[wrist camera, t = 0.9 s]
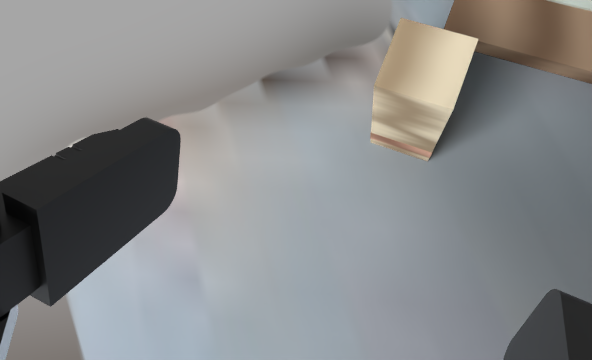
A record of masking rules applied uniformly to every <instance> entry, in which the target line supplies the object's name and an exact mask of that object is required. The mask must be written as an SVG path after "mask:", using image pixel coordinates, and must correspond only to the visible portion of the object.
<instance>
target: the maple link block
mask: <svg viewBox="0 0 592 360" xmlns="http://www.w3.org/2000/svg"><path fill="white" fill-rule="evenodd" d="M477 42H478V39H477V38H474V37H470V36H466V35H463V34H459V33H455V32H451V31H448V30H444V29H440V28H437V27H433V26H429V25H425V24H422V23H418V22H414V21H411V20H407V19H403V18H401V19H400V21H399V24H398V26H397V29H396V31H395V34H394V37H393V39H392V42H391V44H390V47H389V49H388V52H387V54H386V57H385V59H384V62H383V64H382V67H381V70H380V72H379V75H378V77H377V80H376V82H375V85H374V96H373V112H372V128H371V136H370V138H371V143H374V144H377V145H380V146H383V147H386V148H389V149H392V150H395V151H398V152H401V153H404V154H407V155H410V156H413V157H416V158H419V159H422V160H425V161H428V159H429V158H430V156H431V154H432V152H433V149H434V147H435V145H436V143H437V141H438V139H439V137H440V135H441V133H442V131H443V129H444V127H445V125H446V123H447V121H448V119H449V117H450V115H451V113H452V111H453V109H454V106H455V104H456V101H457V98H458V95H459V92H460V89H461V87H462V84H463V81H464V78H465V75H466V73H467V70H468V67H469V64H470V61H471V59H472V56H473V53H474V50H475V47H476V45H477Z"/></svg>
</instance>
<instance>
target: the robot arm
mask: <svg viewBox="0 0 592 360" xmlns="http://www.w3.org/2000/svg"><path fill="white" fill-rule="evenodd" d="M179 155H180V134H179V132H178V131H177V130H176V129H173V128H171V127H169V126H166V125H164V124H161V123H159V122H157V121H154V120H152V119H149V118H142V119H140V120H138V121H136V122H134V123H132V124H130V125H128V126H127V127H124V128H123V129H121V130H118V129H116V130H112V131H107V132H102V133H98V134H94V135H91V136H89V137H87V138H85V139H83V140H81V141H79V142H77V143H75V144H73V146H72V147H71V148H70V147H67V148H65V149H63V150H61V151H59V152H57V153H56V155H55V156H50V157H48V158H46V159H44V160H42V161H40V162H38V163H36V164H34V165H32V166H30V167H28V168H26V169H24V170H22V171H20V172H18V173H16V174H14V175H12V176H10V177H8V178H6V179H4V180H2V181H0V360H5V359H6V356H7V352H8V348H9V344H10V341H11V338H12V334H13V330H14V327H15V323H16V320H17V316H18V305H17V304H19V303H20V302H21V301H22V300H24V299H25V298H26V297H28V296H29V295H31V296H32V297H34V298H36V299H38V300H40V301H41V302H43V303H45V304H47V305H49V306H52V305H53V304H54V303H56V302H57V301H58V300H59V299H60V298H62V297H63V296H64V295H65V294H66V293H68V292H69V291H70V290H71V289H72V288H74V287H75V286H76V285H77V284H78V283H80V282H81V281H82V280H83V279H84V278H86V277H87V276H88V275H89V274H90V273H92V272H93V271H94V270H95V269H96V268H98V267H99V266H100V265H101V264H102V263H104V262H105V261H106V260H107V259H108V258H110V257H111V256H112V255H113V254H114V253H116V252H117V251H118V250H119V249H121V248H122V247H123V246H124V245H125V244H127V243H128V242H129V241H130V240H131V239H133V238H134V237H135V236H136V235H137V234H139V233H140V232H141V231H142V230H143V229H145V228H146V227H147V226H148V225H149V224H151V223H152V222H153V221H154V220H155V219H157V218H158V217H159V216H160V215H161V214H163V213H164V212H165V211H166V210H167V208H168V207H169V206H170V204H171V203H172V201H173V199H174V196H175V194H176V190H177V182H178V168H179ZM503 360H592V304H591V303H588V302H586V301H583V300H581V299H579V298H576V297H574V296H571V295H569V294H567V293H564V292H562V291H559V290H557V289H553V290H551V291H549V292H548V293H547V294H546V295H545V297H544V298H543V299H542V301H541V302H540V303H539V305H538V306H537V307H536V308H535V310H534V311H533V312H532V314H531V315H530V316H529V318H528V319H527V320H526V322H525V323H524V324H523V326H522V327H521V328H520V330H519V331H518V332H517V334H516V335H515V336H514V338H513V339H512V340H511V342H510V344H509V346H508V348H507V350H506V353H505V356H504V359H503Z"/></svg>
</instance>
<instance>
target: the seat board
mask: <svg viewBox="0 0 592 360" xmlns="http://www.w3.org/2000/svg"><path fill="white" fill-rule="evenodd" d="M444 30H448V31H451V32H455V33H459V34H463V35H466V36H470V37H474V38H477V39H478V42H477V45H476V47H475V50H474V51H475V52H478V53H482V54H486V55H489V56H493V57H497V58H500V59H504V60H507V61H511V62H515V63H518V64H522V65H526V66H529V67H533V68H536V69H540V70H544V71H547V72H551V73H555V74H558V75H562V76H565V77H569V78H573V79H576V80H580V81H584V82H587V83H591V84H592V0H454V3H453V6H452V8H451V11H450V14H449V16H448V19H447V22H446V24H445V27H444Z"/></svg>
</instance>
